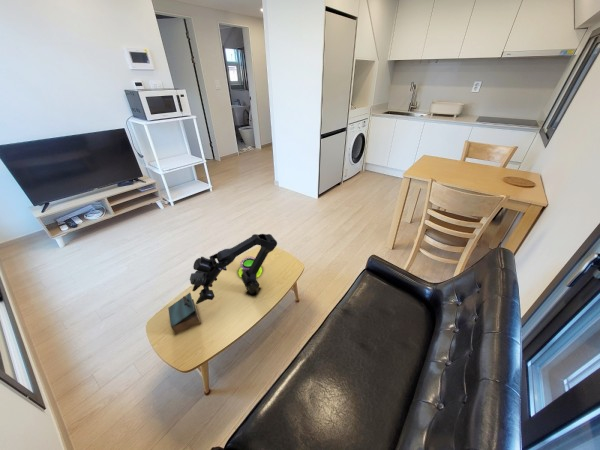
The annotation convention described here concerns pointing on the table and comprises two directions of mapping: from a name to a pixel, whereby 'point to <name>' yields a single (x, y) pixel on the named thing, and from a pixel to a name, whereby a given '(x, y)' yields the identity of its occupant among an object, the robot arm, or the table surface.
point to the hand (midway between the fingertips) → (194, 297)
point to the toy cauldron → (247, 266)
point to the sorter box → (187, 322)
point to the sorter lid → (181, 309)
